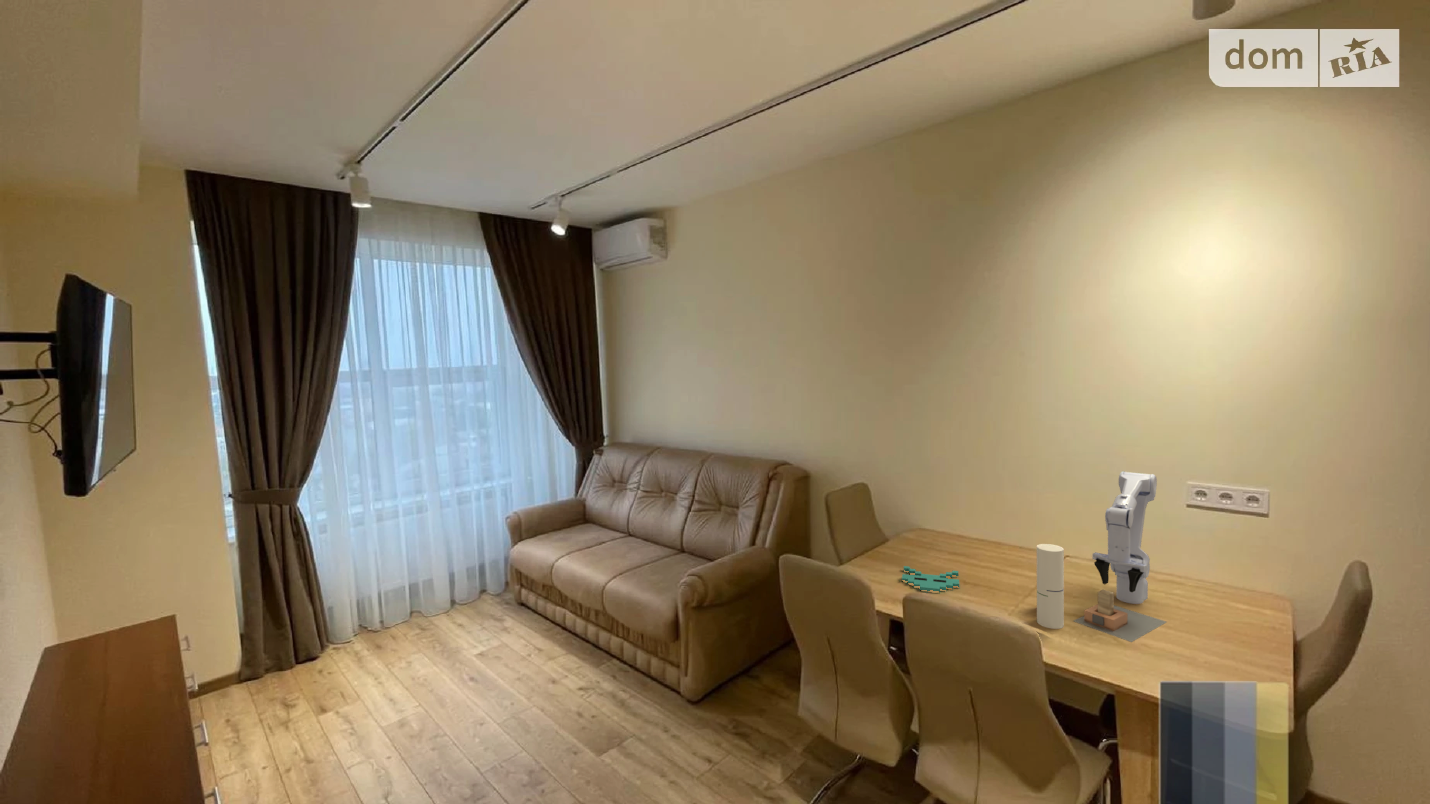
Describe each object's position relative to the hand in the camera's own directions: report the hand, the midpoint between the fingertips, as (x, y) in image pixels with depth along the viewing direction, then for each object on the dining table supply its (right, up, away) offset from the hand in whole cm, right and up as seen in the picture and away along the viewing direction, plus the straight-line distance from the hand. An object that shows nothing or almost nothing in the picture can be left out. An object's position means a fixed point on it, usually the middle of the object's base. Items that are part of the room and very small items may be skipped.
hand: (1118, 587), depth 177 cm
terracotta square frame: (-8, -9, -5) cm, 13 cm away
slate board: (-3, -10, -5) cm, 12 cm away
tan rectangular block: (-8, -9, -5) cm, 13 cm away
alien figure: (-47, -10, +33) cm, 59 cm away
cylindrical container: (-24, -11, -4) cm, 27 cm away
